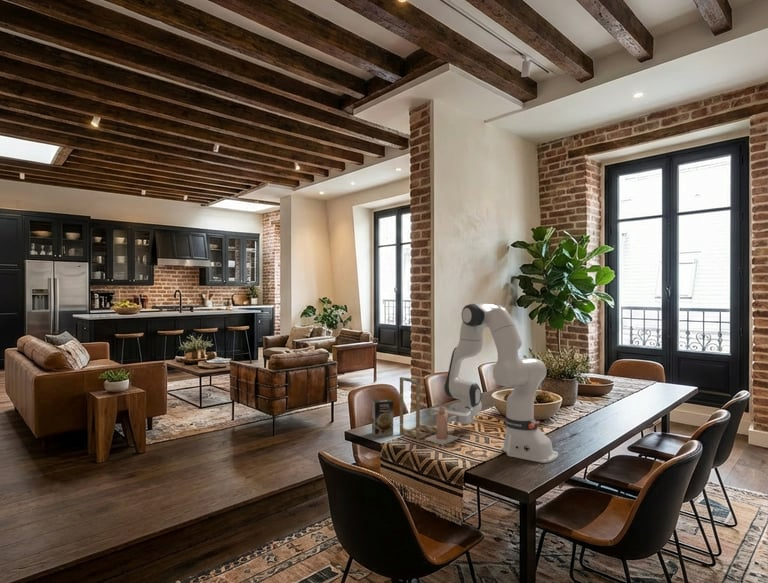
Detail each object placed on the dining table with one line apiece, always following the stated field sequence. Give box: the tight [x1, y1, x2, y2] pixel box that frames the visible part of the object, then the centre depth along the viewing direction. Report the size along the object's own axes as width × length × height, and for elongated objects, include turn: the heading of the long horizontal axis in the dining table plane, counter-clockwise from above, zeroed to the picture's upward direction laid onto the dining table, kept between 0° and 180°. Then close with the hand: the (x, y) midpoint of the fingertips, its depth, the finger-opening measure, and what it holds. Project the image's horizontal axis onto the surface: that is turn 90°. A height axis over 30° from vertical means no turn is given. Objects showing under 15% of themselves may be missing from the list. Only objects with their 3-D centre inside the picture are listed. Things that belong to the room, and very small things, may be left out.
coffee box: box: [371, 398, 394, 438], centre depth 220 cm, size 9×6×16 cm
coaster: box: [424, 433, 459, 446], centre depth 212 cm, size 10×12×1 cm
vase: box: [435, 405, 449, 439], centre depth 212 cm, size 5×5×14 cm
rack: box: [399, 376, 436, 440], centre depth 221 cm, size 11×14×27 cm
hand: (440, 418), depth 212 cm, fingers open, 7 cm apart
